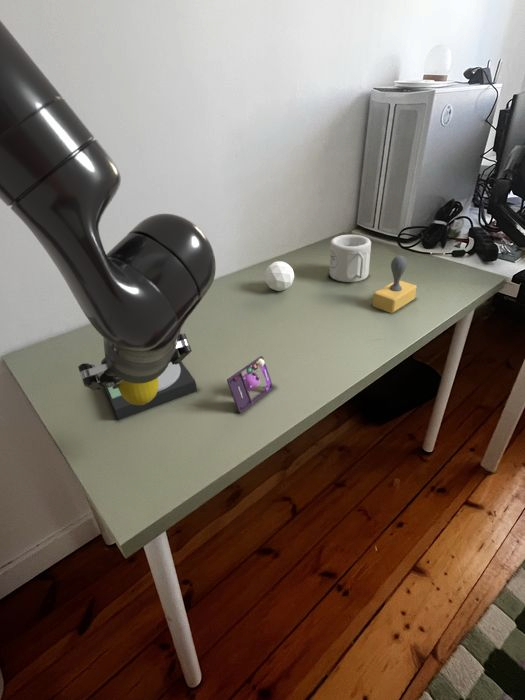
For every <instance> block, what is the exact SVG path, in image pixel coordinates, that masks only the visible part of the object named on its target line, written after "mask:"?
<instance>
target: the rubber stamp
mask: <svg viewBox="0 0 525 700" xmlns="http://www.w3.org/2000/svg"><path fill="white" fill-rule="evenodd" d="M407 264H408V263H407V259H406V258H405V257H404V256H402V255H397V256H395V257H394V258H393V259H392V260H391V262H390V269H391V270H390V271H391V273H392V277H393V281H392V282H390V283H389V284H387V285H386V286H384V287H381V288H380V289H378V290H377V291H374V293H373V300H372V301H373V302H372V306H373V308H376V309H379V310H381V311H383V312H386V313H389V314H393V313H394V312H396V311H397V310H399V309H400V308H402V307H405V306H406V305H407V304H408V303H410V302H412V301H414V300H415V299H416V295H417V288H418V287H417V285H416V284H413V283H409V282H406V281H402V280H401V278H402V277H403V275H404V273H405V272H406V269H407Z"/></svg>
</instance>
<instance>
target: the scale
mask: <svg viewBox="0 0 525 700" xmlns="http://www.w3.org/2000/svg"><path fill="white" fill-rule="evenodd" d="M103 388H104V389H105V392H106V394H107V396H108V399H109V401H110V404H111V406H112V409H113V412H114V413H115V416H116V418H117V421H118V420H123V419H124V418H127V417H131V416H132V415H135V414H138V413H141V412H143V411H146V410H148V409H152V408H154V407H157V406H159V405H162V404H165V403H168V402H170V401H173V400H176V399H179V398H182V397H184V396H187V395H190V394H192V393H195V392H198V388H197V383H196V380H195V378H194V377H193V376H192V374H191V373H190V371H189V370H188V369H187V367H186V366H185V365H184V363H183V362H182V361H181V362H179V364H176V365H175V364H174V365H173V364H172V362H170V363H169V364H168V367H167V368H166V370H165V371H164V372H163V373H162V374H161V375H160V376H159V377H158V391H157V394H156V396H155V397H154V398H153V399H152V400H151V401H150V402H148V403H146V404H145V405H134V404H131V403H129V402H127V401H126V400H125V399H124V398H123V397H122V395H121V393H120V391H119V388H116V389H113V387H110V388H108V387H107V385H106V384H103Z"/></svg>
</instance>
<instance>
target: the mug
mask: <svg viewBox="0 0 525 700" xmlns="http://www.w3.org/2000/svg"><path fill="white" fill-rule="evenodd" d="M329 247H330V249H329V250H330V251H329V252H330V253H329V276H330V277H331V278H332V279H333V280H335V281H337V282H341V283H342V282H343V283H358V282H361V281H363V280H365V279H366V278H368V277H369V273H370V263H371V262H370V261H371V250H372V241H371V240H370V238H369V237H367V236H364V235H360V234H342V235H338V236H335V237H332V239H331V240H330V245H329Z"/></svg>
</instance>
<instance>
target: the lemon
mask: <svg viewBox="0 0 525 700" xmlns="http://www.w3.org/2000/svg"><path fill="white" fill-rule="evenodd" d="M118 388H119V391H120V393H121V395H122V397H123V398H124V399H125V400H126V401H127V402H129V403H131V404H134V405H145V404H146V403H148V402H150V401H151V400H152V399H153V398H154V397H155V396H156V394H157V391H158V378H156V379H154V380H152V381H150V382H146V383H139V384H138V383H130V382H124V383H120V384H118Z"/></svg>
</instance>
